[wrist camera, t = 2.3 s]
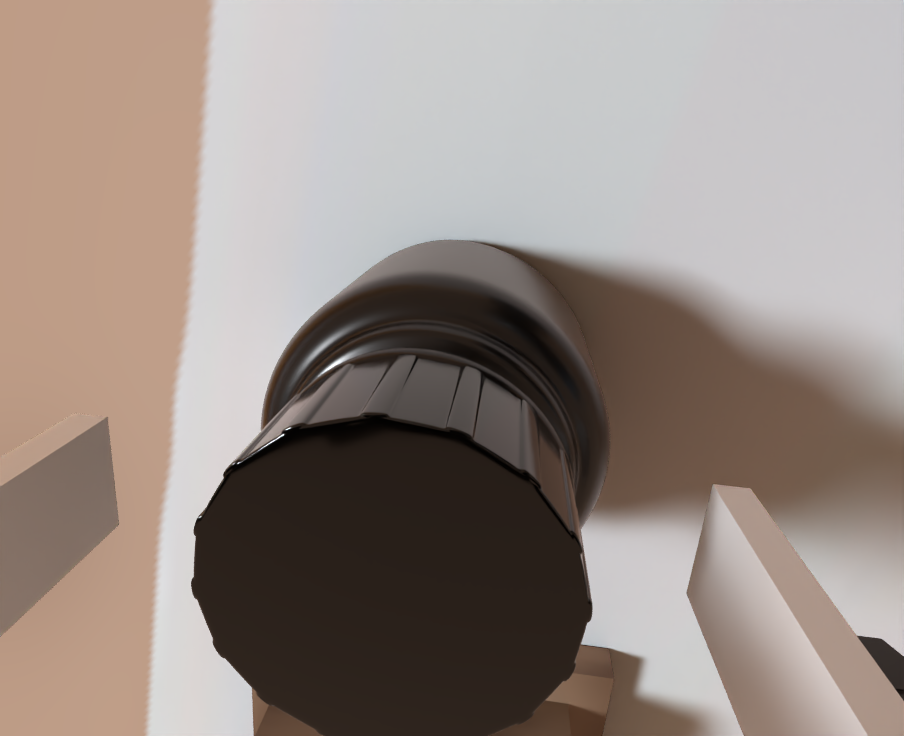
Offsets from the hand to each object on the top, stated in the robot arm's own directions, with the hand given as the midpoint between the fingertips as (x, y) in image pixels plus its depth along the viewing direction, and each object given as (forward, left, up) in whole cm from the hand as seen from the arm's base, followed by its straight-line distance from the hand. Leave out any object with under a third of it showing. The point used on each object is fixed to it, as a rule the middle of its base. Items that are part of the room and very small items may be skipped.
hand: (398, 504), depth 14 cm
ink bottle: (0, 0, -9) cm, 9 cm away
